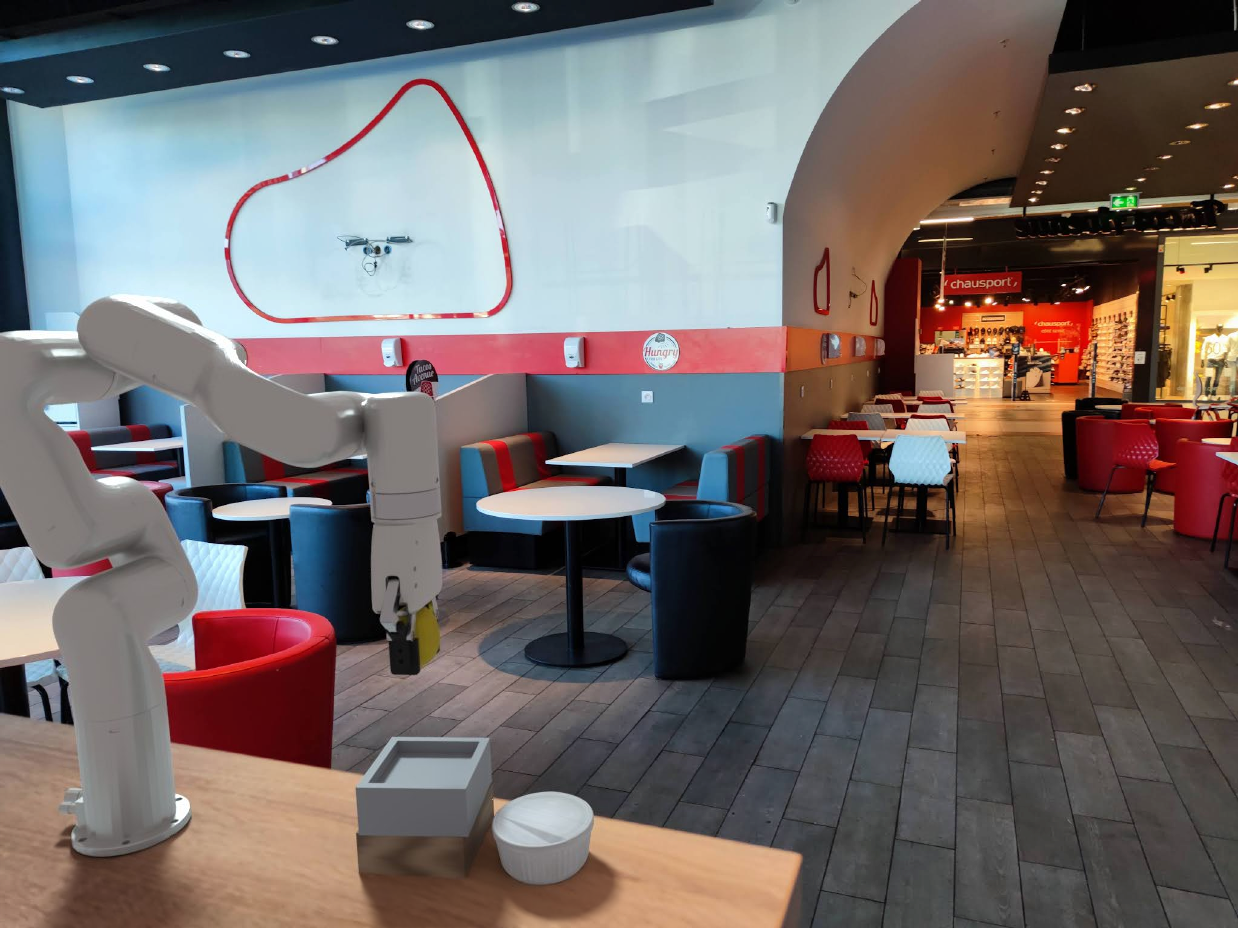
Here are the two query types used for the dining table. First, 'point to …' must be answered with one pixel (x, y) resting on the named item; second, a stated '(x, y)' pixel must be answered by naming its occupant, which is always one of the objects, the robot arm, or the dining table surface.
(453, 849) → the tower bottom block
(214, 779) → the dining table surface
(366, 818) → the tower top block
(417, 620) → the lemon
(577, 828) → the ramekin
